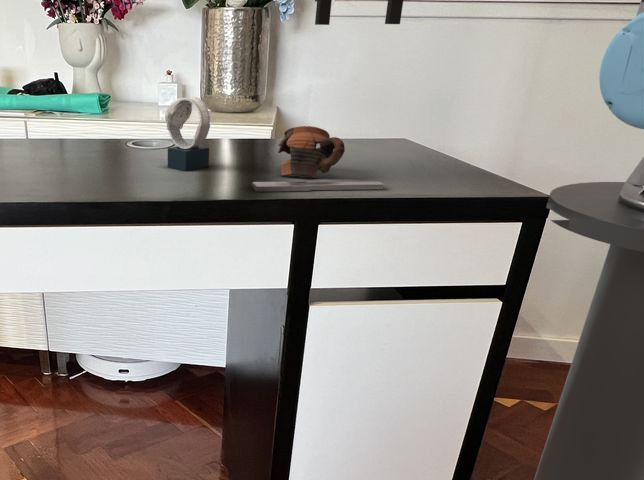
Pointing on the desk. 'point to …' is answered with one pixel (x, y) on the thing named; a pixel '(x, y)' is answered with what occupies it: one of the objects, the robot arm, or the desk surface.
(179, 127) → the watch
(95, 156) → the desk surface
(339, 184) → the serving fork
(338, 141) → the pottery mug
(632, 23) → the robot arm
